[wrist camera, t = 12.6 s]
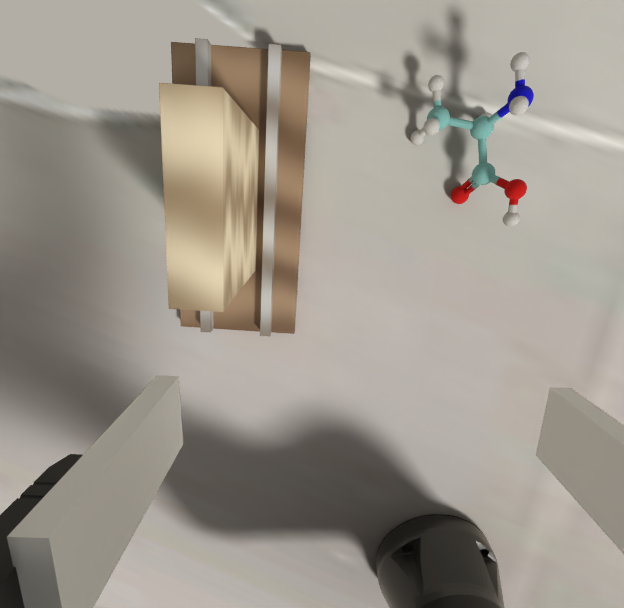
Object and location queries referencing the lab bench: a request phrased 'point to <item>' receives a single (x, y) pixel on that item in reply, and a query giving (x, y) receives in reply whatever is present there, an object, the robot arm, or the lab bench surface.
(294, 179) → the track board
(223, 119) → the door panel
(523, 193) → the molecular model
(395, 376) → the lab bench surface
